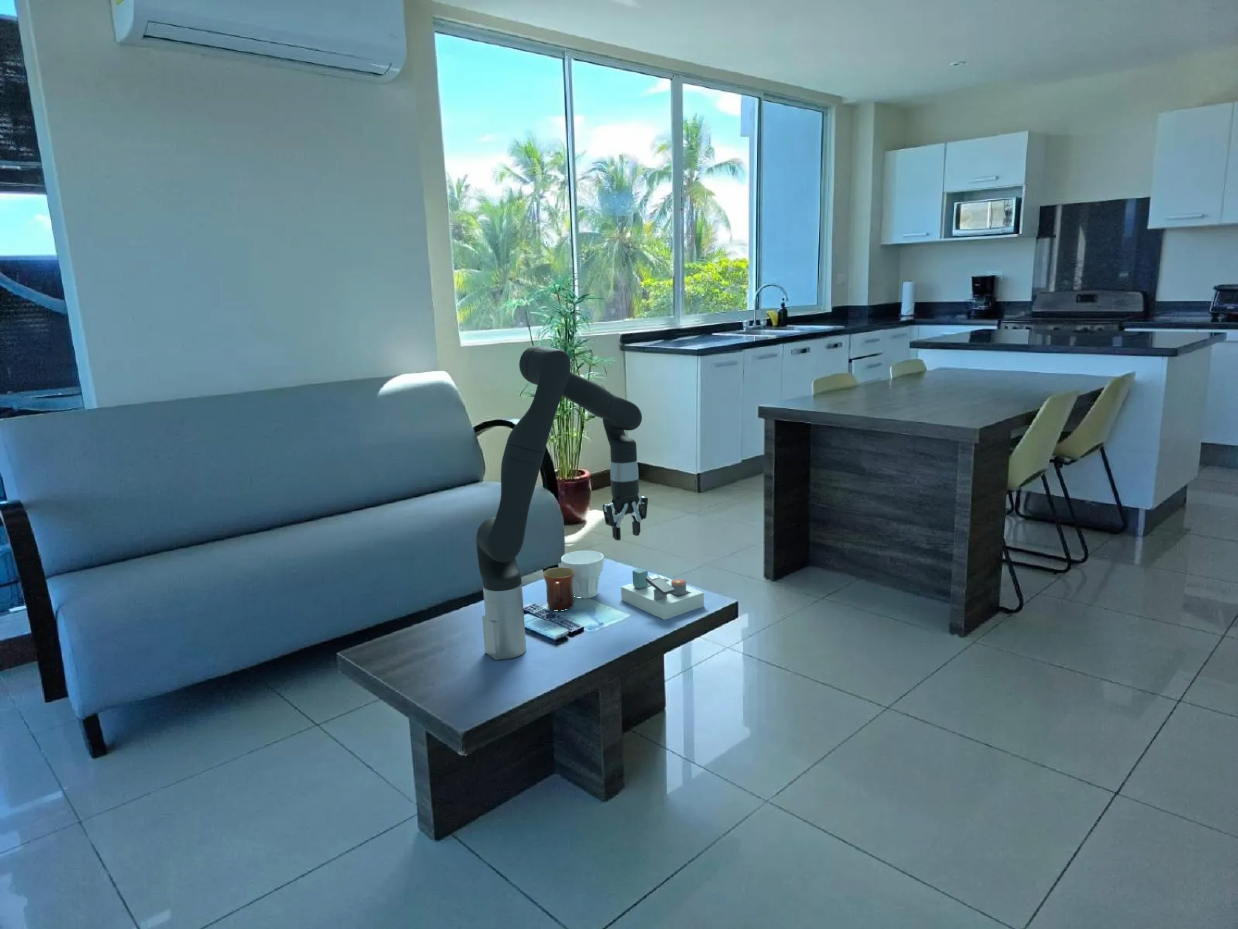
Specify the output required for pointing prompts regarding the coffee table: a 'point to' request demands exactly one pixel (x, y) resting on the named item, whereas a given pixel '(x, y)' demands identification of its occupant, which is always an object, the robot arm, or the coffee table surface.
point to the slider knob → (640, 578)
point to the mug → (559, 588)
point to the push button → (679, 587)
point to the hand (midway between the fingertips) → (626, 537)
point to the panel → (662, 600)
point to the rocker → (660, 584)
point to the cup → (584, 571)
